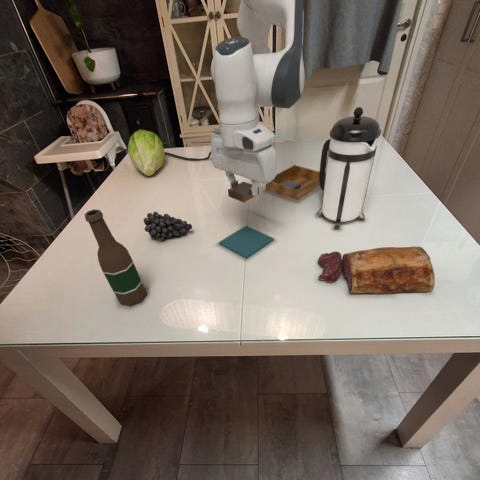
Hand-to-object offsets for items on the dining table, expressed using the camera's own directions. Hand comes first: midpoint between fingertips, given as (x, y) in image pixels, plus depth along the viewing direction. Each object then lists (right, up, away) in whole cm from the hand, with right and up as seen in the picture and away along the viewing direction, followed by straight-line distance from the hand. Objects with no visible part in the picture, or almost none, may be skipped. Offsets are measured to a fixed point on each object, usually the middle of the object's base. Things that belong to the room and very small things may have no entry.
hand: (244, 191), depth 80 cm
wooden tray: (+20, +16, +33) cm, 42 cm away
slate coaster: (+17, +14, +31) cm, 39 cm away
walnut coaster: (0, -1, +1) cm, 1 cm away
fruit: (-24, -7, +18) cm, 30 cm away
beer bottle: (-30, -29, -1) cm, 41 cm away
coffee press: (+31, -1, +17) cm, 35 cm away
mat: (+1, -11, +12) cm, 16 cm away
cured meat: (+32, -23, -3) cm, 39 cm away
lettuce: (-43, +36, +59) cm, 82 cm away
